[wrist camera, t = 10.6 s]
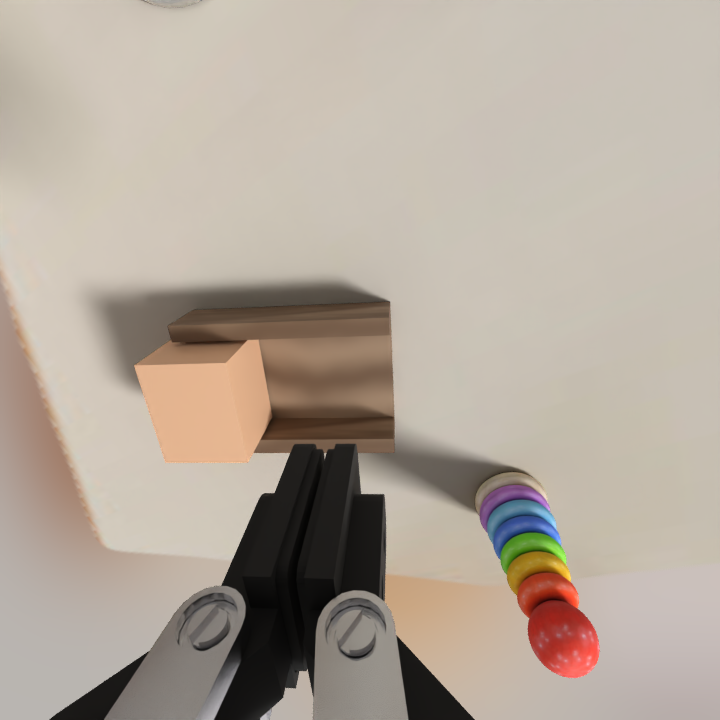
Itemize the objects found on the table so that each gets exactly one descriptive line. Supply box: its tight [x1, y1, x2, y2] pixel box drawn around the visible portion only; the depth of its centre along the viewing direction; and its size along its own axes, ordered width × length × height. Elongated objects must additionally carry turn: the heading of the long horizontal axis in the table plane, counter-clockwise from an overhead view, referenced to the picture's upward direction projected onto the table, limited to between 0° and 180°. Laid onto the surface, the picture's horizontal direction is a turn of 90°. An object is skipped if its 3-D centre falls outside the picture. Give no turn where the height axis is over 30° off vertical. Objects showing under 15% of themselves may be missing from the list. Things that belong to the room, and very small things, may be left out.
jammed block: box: [134, 340, 272, 463], centre depth 38 cm, size 10×8×8 cm
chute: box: [168, 302, 395, 453], centre depth 40 cm, size 14×20×5 cm
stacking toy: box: [475, 472, 600, 678], centre depth 38 cm, size 8×8×19 cm
